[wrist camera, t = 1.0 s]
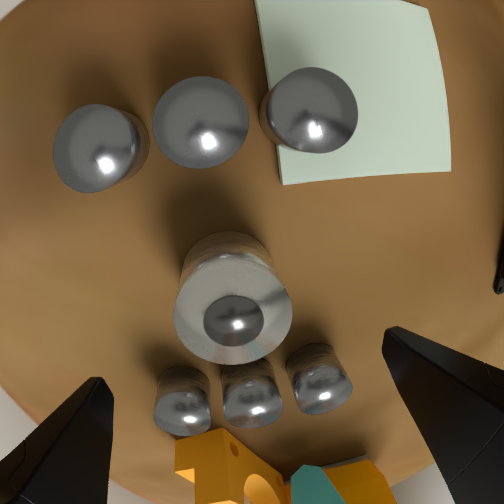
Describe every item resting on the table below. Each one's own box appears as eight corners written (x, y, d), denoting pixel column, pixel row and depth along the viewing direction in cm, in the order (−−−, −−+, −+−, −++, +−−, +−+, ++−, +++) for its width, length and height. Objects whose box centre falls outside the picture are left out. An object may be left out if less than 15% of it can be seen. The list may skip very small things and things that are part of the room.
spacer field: (323, 81, 11) (352, 68, 9) (333, 373, 18) (349, 405, 15) (80, 122, 11) (47, 120, 8) (167, 402, 17) (164, 437, 14)
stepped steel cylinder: (267, 223, 14) (288, 257, 10) (276, 304, 15) (296, 355, 11) (173, 239, 13) (158, 279, 9) (193, 318, 15) (189, 373, 11)
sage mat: (422, 10, 10) (427, 8, 9) (445, 170, 14) (451, 171, 13) (251, -13, 9) (253, -18, 9) (280, 183, 13) (282, 185, 12)
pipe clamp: (175, 438, 19) (173, 507, 13) (223, 425, 19) (230, 500, 13) (243, 483, 24) (251, 533, 18) (281, 473, 23) (293, 523, 17)
